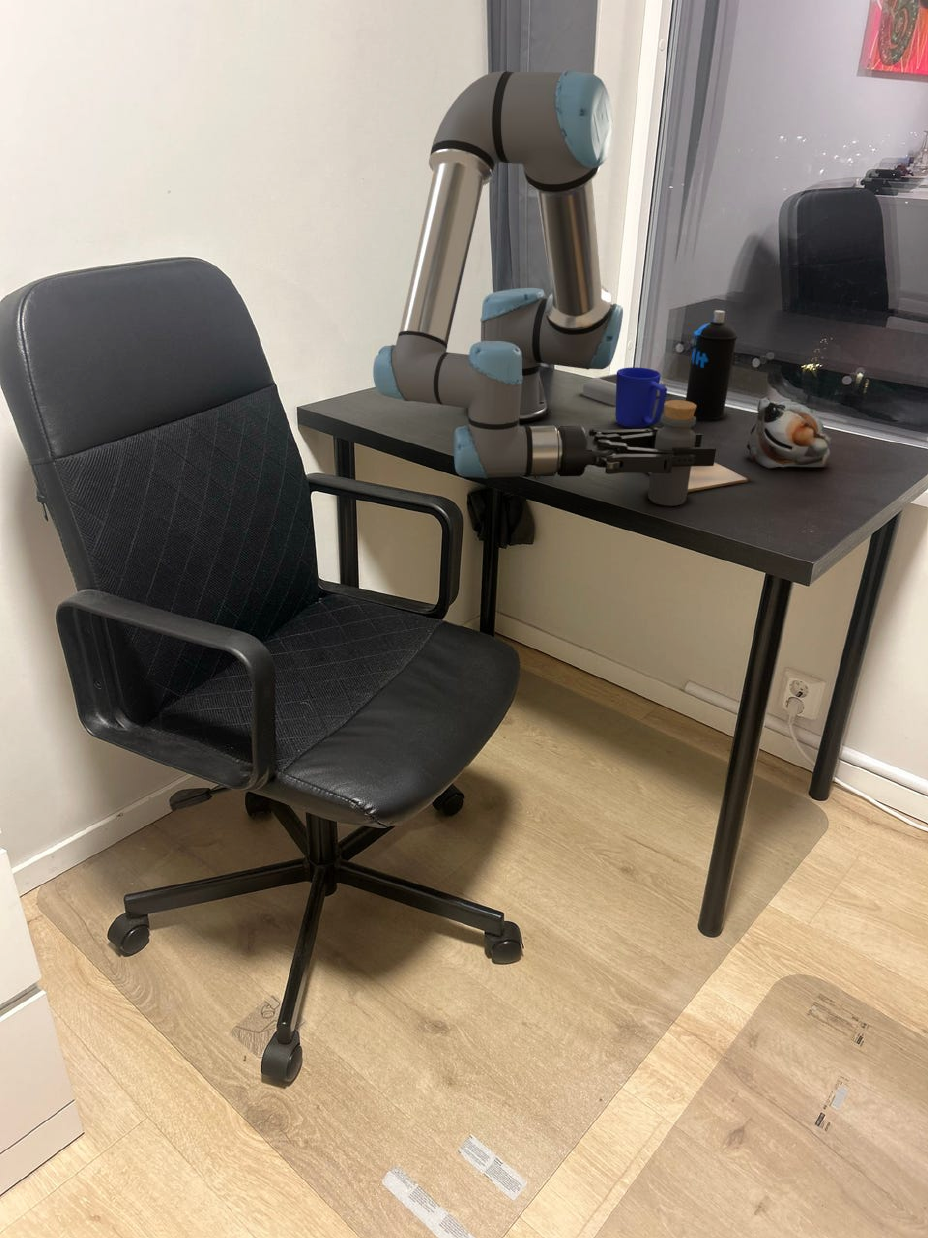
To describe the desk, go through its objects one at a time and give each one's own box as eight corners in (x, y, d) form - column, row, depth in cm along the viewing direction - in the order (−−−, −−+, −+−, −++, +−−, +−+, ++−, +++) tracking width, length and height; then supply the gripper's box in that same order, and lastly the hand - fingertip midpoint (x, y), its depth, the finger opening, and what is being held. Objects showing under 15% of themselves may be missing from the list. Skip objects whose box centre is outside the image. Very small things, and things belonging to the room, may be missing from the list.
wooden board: (613, 453, 155) (614, 451, 155) (673, 444, 160) (674, 442, 160) (683, 492, 140) (684, 490, 139) (747, 481, 144) (748, 478, 144)
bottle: (643, 492, 140) (655, 398, 132) (679, 491, 140) (693, 398, 133) (653, 506, 135) (666, 410, 127) (690, 505, 135) (706, 409, 128)
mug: (641, 439, 162) (647, 385, 157) (603, 421, 172) (608, 369, 167) (675, 433, 166) (683, 380, 161) (636, 416, 175) (642, 365, 170)
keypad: (666, 377, 187) (616, 388, 179) (664, 394, 189) (614, 405, 181) (633, 368, 193) (584, 377, 186) (632, 384, 195) (582, 395, 187)
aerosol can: (720, 409, 180) (738, 307, 170) (727, 421, 173) (745, 316, 163) (680, 407, 180) (694, 306, 171) (684, 419, 173) (700, 314, 163)
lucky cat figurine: (843, 464, 152) (863, 405, 140) (795, 502, 149) (811, 445, 138) (775, 419, 159) (789, 360, 148) (728, 454, 157) (738, 397, 145)
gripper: (545, 454, 142) (684, 452, 144) (566, 498, 126) (724, 495, 128) (548, 408, 138) (691, 407, 140) (571, 447, 122) (732, 445, 124)
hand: (706, 449), depth 134 cm, fingers closed on bottle, 6 cm apart
